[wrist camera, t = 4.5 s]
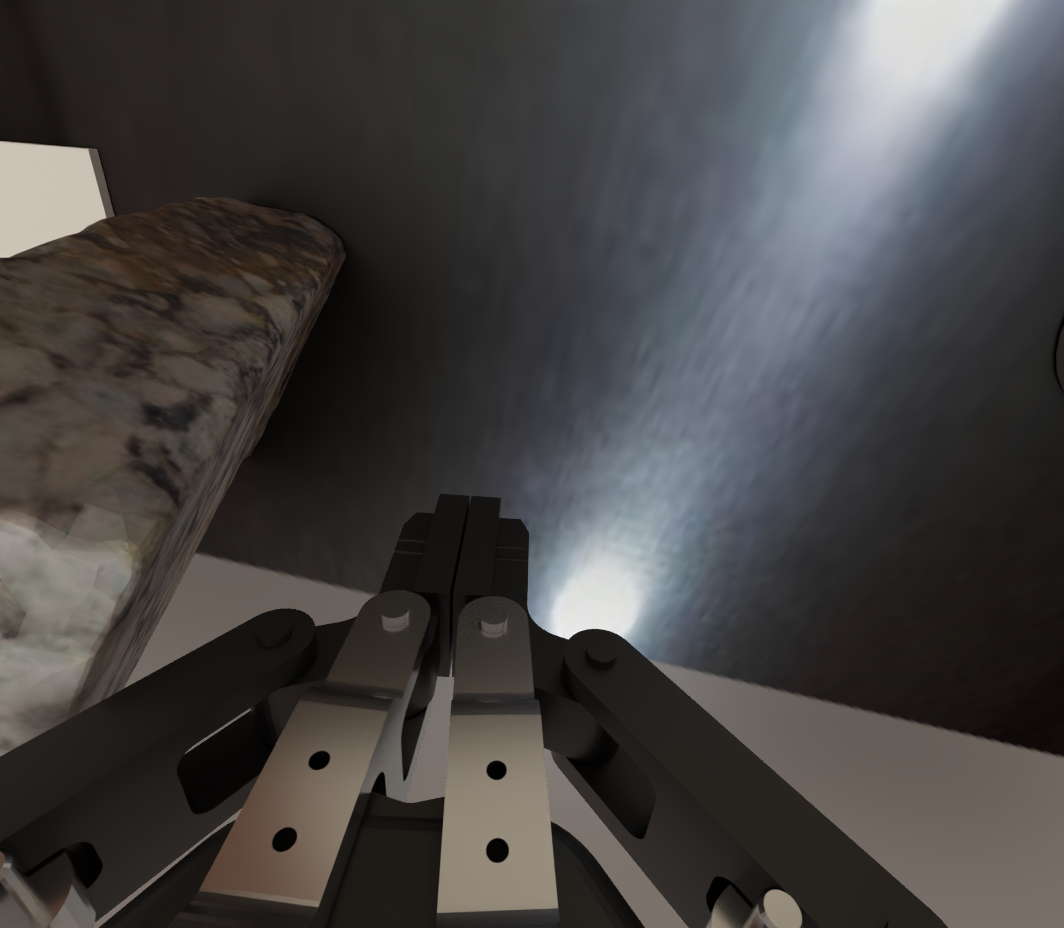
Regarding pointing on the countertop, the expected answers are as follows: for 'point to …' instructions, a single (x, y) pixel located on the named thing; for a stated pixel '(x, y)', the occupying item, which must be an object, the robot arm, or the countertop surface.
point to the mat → (48, 194)
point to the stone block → (132, 425)
